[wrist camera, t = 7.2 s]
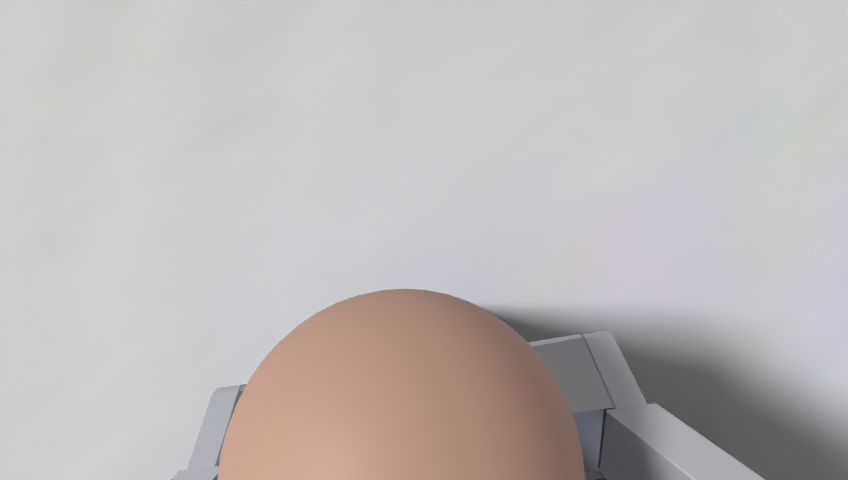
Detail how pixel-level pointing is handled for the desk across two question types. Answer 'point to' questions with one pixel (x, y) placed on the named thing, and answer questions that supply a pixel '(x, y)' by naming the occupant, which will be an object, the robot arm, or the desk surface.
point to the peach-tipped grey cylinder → (402, 399)
